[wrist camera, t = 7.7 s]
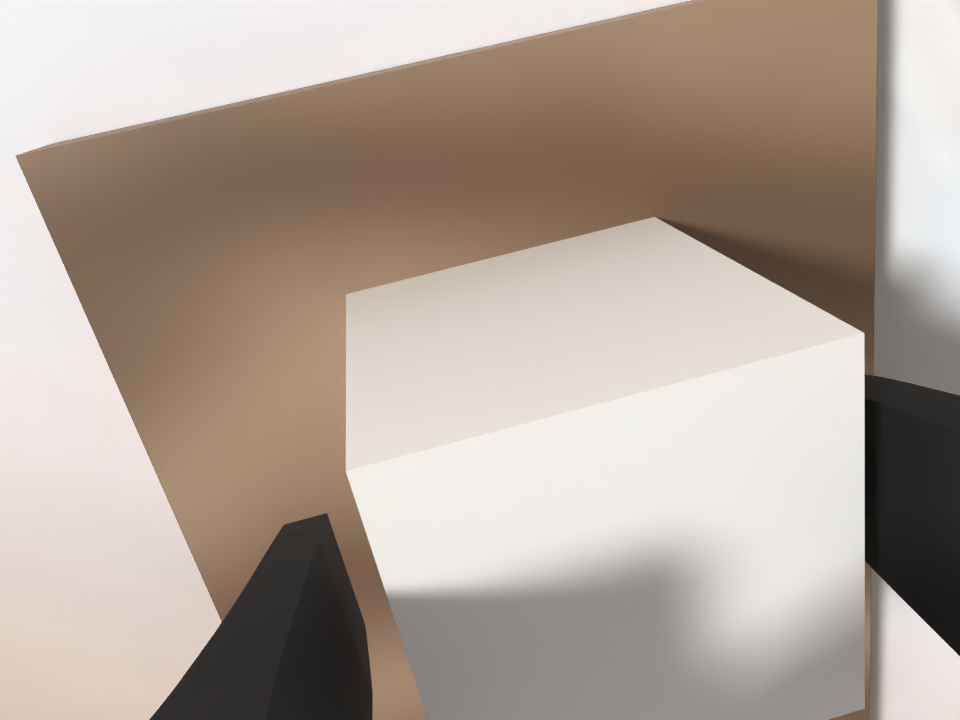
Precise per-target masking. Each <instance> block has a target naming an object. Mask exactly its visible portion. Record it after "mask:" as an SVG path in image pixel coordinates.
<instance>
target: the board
mask: <svg viewBox="0 0 960 720" xmlns="http://www.w3.org/2000/svg"><path fill="white" fill-rule="evenodd" d="M877 14H878V0H691V1H687V2H683V3H678V4H674V5H669V6H665V7H660V8H656V9H651V10H647V11H642V12H638V13H633V14H629V15H625V16H620V17H616V18H611V19H607V20H602V21H598V22H593V23H589V24H584V25H580V26H576V27H571V28H567V29H562V30H558V31H553V32H549V33H544V34H540V35H535V36H531V37H526V38H522V39H518V40H513V41H509V42H504V43H500V44H495V45H491V46H486V47H482V48H477V49H473V50H469V51H464V52H460V53H455V54H451V55H446V56H442V57H437V58H433V59H428V60H424V61H419V62H415V63H411V64H406V65H402V66H397V67H393V68H388V69H384V70H379V71H375V72H370V73H366V74H362V75H357V76H353V77H348V78H344V79H339V80H335V81H330V82H326V83H321V84H317V85H312V86H308V87H304V88H299V89H295V90H290V91H286V92H281V93H277V94H272V95H268V96H263V97H259V98H255V99H250V100H246V101H241V102H237V103H232V104H228V105H223V106H219V107H214V108H210V109H205V110H201V111H197V112H192V113H188V114H183V115H179V116H174V117H170V118H165V119H161V120H156V121H152V122H147V123H143V124H139V125H134V126H130V127H125V128H121V129H116V130H112V131H107V132H103V133H98V134H94V135H90V136H85V137H81V138H76V139H72V140H67V141H63V142H58V143H54V144H50V145H47V146H44V147H41V148H38V149H35V150H32V151H29V152H26V153H23V154H20V155H17V156H16V158H17V160H18V162H19V165H20V167H21V169H22V171H23V174H24V176H25V178H26V180H27V183H28V185H29V187H30V189H31V192H32V194H33V196H34V198H35V201H36V203H37V205H38V207H39V210H40V212H41V214H42V216H43V219H44V221H45V223H46V226H47V228H48V230H49V232H50V235H51V237H52V239H53V241H54V244H55V246H56V248H57V250H58V253H59V255H60V257H61V259H62V262H63V264H64V266H65V268H66V271H67V273H68V275H69V277H70V280H71V282H72V284H73V287H74V289H75V291H76V293H77V296H78V298H79V300H80V302H81V305H82V307H83V309H84V311H85V314H86V316H87V318H88V320H89V323H90V325H91V327H92V329H93V332H94V334H95V336H96V338H97V341H98V343H99V345H100V347H101V350H102V352H103V354H104V357H105V359H106V361H107V363H108V366H109V368H110V370H111V372H112V375H113V377H114V379H115V381H116V384H117V386H118V388H119V390H120V393H121V395H122V397H123V399H124V402H125V404H126V406H127V408H128V411H129V413H130V415H131V418H132V420H133V422H134V424H135V427H136V429H137V431H138V433H139V436H140V438H141V440H142V442H143V445H144V447H145V449H146V451H147V454H148V456H149V458H150V460H151V463H152V465H153V467H154V469H155V472H156V474H157V476H158V479H159V481H160V483H161V485H162V488H163V490H164V492H165V494H166V497H167V499H168V501H169V503H170V506H171V508H172V510H173V512H174V515H175V517H176V519H177V521H178V524H179V526H180V528H181V530H182V533H183V535H184V537H185V539H186V542H187V544H188V546H189V549H190V551H191V553H192V555H193V558H194V560H195V562H196V564H197V567H198V569H199V571H200V573H201V576H202V578H203V580H204V582H205V585H206V587H207V589H208V591H209V594H210V596H211V598H212V600H213V603H214V605H215V607H216V610H217V612H218V614H219V616H220V619H221V621H223V620H224V618H225V617H226V615H227V614H228V612H229V611H230V609H231V608H232V606H233V604H234V603H235V601H236V600H237V598H238V597H239V595H240V594H241V592H242V591H243V589H244V587H245V586H246V584H247V582H248V581H249V579H250V578H251V576H252V574H253V573H254V571H255V570H256V568H257V566H258V565H259V563H260V561H261V560H262V558H263V556H264V555H265V553H266V552H267V550H268V548H269V547H270V545H271V544H272V542H273V541H274V539H275V537H276V536H277V534H278V533H279V531H280V530H281V528H282V527H283V525H284V524H288V523H292V522H295V521H299V520H303V519H307V518H311V517H314V516H318V515H322V514H326V513H327V514H328V517H329V520H330V523H331V526H332V529H333V532H334V535H335V538H336V541H337V544H338V547H339V550H340V552H341V555H342V558H343V561H344V564H345V567H346V570H347V573H348V576H349V579H350V582H351V585H352V588H353V590H354V593H355V596H356V599H357V602H358V605H359V608H360V611H361V614H362V617H363V620H364V623H365V626H366V634H367V643H368V652H369V660H370V670H371V681H372V691H373V718H372V720H428V719H427V716H426V713H425V710H424V707H423V704H422V701H421V698H420V694H419V691H418V688H417V685H416V682H415V679H414V676H413V673H412V670H411V667H410V664H409V661H408V658H407V655H406V652H405V649H404V646H403V643H402V640H401V637H400V634H399V631H398V628H397V625H396V622H395V619H394V616H393V613H392V610H391V607H390V604H389V601H388V598H387V595H386V592H385V589H384V586H383V583H382V580H381V577H380V574H379V571H378V568H377V565H376V561H375V558H374V555H373V552H372V549H371V546H370V543H369V540H368V537H367V534H366V531H365V528H364V525H363V522H362V519H361V516H360V513H359V510H358V507H357V504H356V501H355V498H354V495H353V492H352V489H351V486H350V483H349V480H348V477H347V474H346V294H349V293H353V292H357V291H361V290H365V289H369V288H373V287H377V286H381V285H385V284H389V283H393V282H397V281H401V280H405V279H409V278H413V277H417V276H421V275H425V274H429V273H433V272H437V271H441V270H445V269H449V268H453V267H457V266H461V265H465V264H469V263H473V262H477V261H481V260H485V259H489V258H493V257H497V256H501V255H505V254H509V253H513V252H517V251H521V250H525V249H529V248H533V247H536V246H540V245H544V244H548V243H552V242H556V241H560V240H564V239H568V238H572V237H576V236H580V235H584V234H588V233H592V232H596V231H600V230H604V229H608V228H612V227H616V226H620V225H624V224H628V223H632V222H636V221H640V220H644V219H648V218H652V217H656V218H658V219H659V220H661V221H663V222H665V223H667V224H668V225H670V226H672V227H674V228H676V229H677V230H679V231H681V232H683V233H685V234H686V235H688V236H690V237H692V238H694V239H695V240H697V241H699V242H701V243H703V244H704V245H706V246H708V247H710V248H712V249H714V250H715V251H717V252H719V253H721V254H723V255H724V256H726V257H728V258H730V259H732V260H733V261H735V262H737V263H739V264H741V265H742V266H744V267H746V268H748V269H750V270H751V271H753V272H755V273H757V274H759V275H760V276H762V277H764V278H766V279H768V280H769V281H771V282H773V283H775V284H777V285H778V286H780V287H782V288H784V289H786V290H788V291H789V292H791V293H793V294H795V295H797V296H798V297H800V298H802V299H804V300H806V301H807V302H809V303H811V304H813V305H815V306H816V307H818V308H820V309H822V310H824V311H825V312H827V313H829V314H831V315H833V316H834V317H836V318H838V319H840V320H842V321H843V322H845V323H847V324H849V325H851V326H853V327H854V328H856V329H858V330H860V331H862V332H863V333H864V365H865V374H866V375H872V376H873V361H874V274H875V188H876V101H877ZM870 622H871V566H870V565H869V564H868V563H867V562H866V561H865V709H862V710H858V711H855V712H852V713H849V714H845V715H842V716H839V717H835V718H832V719H829V720H869V709H870Z"/></svg>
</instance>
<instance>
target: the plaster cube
mask: <svg viewBox="0 0 960 720" xmlns="http://www.w3.org/2000/svg"><path fill="white" fill-rule="evenodd" d="M346 474H347V477H348V480H349V483H350V486H351V489H352V492H353V495H354V498H355V501H356V504H357V507H358V510H359V513H360V516H361V519H362V522H363V525H364V528H365V531H366V534H367V537H368V540H369V543H370V546H371V549H372V552H373V555H374V558H375V561H376V565H377V568H378V571H379V574H380V577H381V580H382V583H383V586H384V589H385V592H386V595H387V598H388V601H389V604H390V607H391V610H392V613H393V616H394V619H395V622H396V625H397V628H398V631H399V634H400V637H401V640H402V643H403V646H404V649H405V652H406V655H407V658H408V661H409V664H410V667H411V670H412V673H413V676H414V679H415V682H416V685H417V688H418V691H419V694H420V698H421V701H422V704H423V707H424V710H425V713H426V716H427V719H428V720H829V719H832V718H835V717H839V716H842V715H845V714H849V713H852V712H855V711H858V710H862V709H865V365H864V333H863V332H862V331H860V330H858V329H856V328H854V327H853V326H851V325H849V324H847V323H845V322H843V321H842V320H840V319H838V318H836V317H834V316H833V315H831V314H829V313H827V312H825V311H824V310H822V309H820V308H818V307H816V306H815V305H813V304H811V303H809V302H807V301H806V300H804V299H802V298H800V297H798V296H797V295H795V294H793V293H791V292H789V291H788V290H786V289H784V288H782V287H780V286H778V285H777V284H775V283H773V282H771V281H769V280H768V279H766V278H764V277H762V276H760V275H759V274H757V273H755V272H753V271H751V270H750V269H748V268H746V267H744V266H742V265H741V264H739V263H737V262H735V261H733V260H732V259H730V258H728V257H726V256H724V255H723V254H721V253H719V252H717V251H715V250H714V249H712V248H710V247H708V246H706V245H704V244H703V243H701V242H699V241H697V240H695V239H694V238H692V237H690V236H688V235H686V234H685V233H683V232H681V231H679V230H677V229H676V228H674V227H672V226H670V225H668V224H667V223H665V222H663V221H661V220H659V219H658V218H656V217H652V218H648V219H644V220H640V221H636V222H632V223H628V224H624V225H620V226H616V227H612V228H608V229H604V230H600V231H596V232H592V233H588V234H584V235H580V236H576V237H572V238H568V239H564V240H560V241H556V242H552V243H548V244H544V245H540V246H536V247H533V248H529V249H525V250H521V251H517V252H513V253H509V254H505V255H501V256H497V257H493V258H489V259H485V260H481V261H477V262H473V263H469V264H465V265H461V266H457V267H453V268H449V269H445V270H441V271H437V272H433V273H429V274H425V275H421V276H417V277H413V278H409V279H405V280H401V281H397V282H393V283H389V284H385V285H381V286H377V287H373V288H369V289H365V290H361V291H357V292H353V293H349V294H346Z"/></svg>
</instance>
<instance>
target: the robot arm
mask: <svg viewBox="0 0 960 720" xmlns="http://www.w3.org/2000/svg"><path fill="white" fill-rule="evenodd" d="M865 561H866V562H867V563H868V564H869V565H870V566H871V567H872V569H873V570H874V571H875V572H876V573H877V574H878V575H879V576H880V577H881V578H882V579H883V580H884V581H885V582H886V583H887V584H888V585H889V586H890V587H891V588H892V589H893V590H894V591H895V592H896V593H897V594H898V595H899V596H900V597H901V598H902V599H903V600H904V601H905V602H906V603H907V604H908V605H909V606H910V607H911V608H912V609H913V610H914V611H915V612H916V613H917V614H918V615H919V616H920V617H921V618H922V619H923V620H924V621H925V622H926V623H927V624H928V625H929V626H930V627H931V628H932V629H933V630H934V631H935V632H936V633H937V634H938V635H939V636H940V637H941V638H942V639H943V640H944V641H945V642H946V643H947V644H948V645H949V646H950V647H951V648H952V649H953V650H954V651H955V652H956V653H957V654H958V655H959V656H960V396H959V395H955V394H951V393H947V392H943V391H939V390H935V389H931V388H927V387H922V386H918V385H914V384H910V383H906V382H901V381H897V380H892V379H888V378H883V377H878V376H872V375H866V374H865ZM372 718H373V691H372V681H371V670H370V660H369V652H368V643H367V634H366V626H365V623H364V620H363V617H362V614H361V611H360V608H359V605H358V602H357V599H356V596H355V593H354V590H353V588H352V585H351V582H350V579H349V576H348V573H347V570H346V567H345V564H344V561H343V558H342V555H341V552H340V550H339V547H338V544H337V541H336V538H335V535H334V532H333V529H332V526H331V523H330V520H329V517H328V514H327V513H326V514H322V515H318V516H314V517H311V518H307V519H303V520H299V521H295V522H292V523H288V524H284V525H283V527H282V528H281V530H280V531H279V533H278V534H277V536H276V537H275V539H274V541H273V542H272V544H271V545H270V547H269V548H268V550H267V552H266V553H265V555H264V556H263V558H262V560H261V561H260V563H259V565H258V566H257V568H256V570H255V571H254V573H253V574H252V576H251V578H250V579H249V581H248V582H247V584H246V586H245V587H244V589H243V591H242V592H241V594H240V595H239V597H238V598H237V600H236V601H235V603H234V604H233V606H232V608H231V609H230V611H229V612H228V614H227V615H226V617H225V618H224V620H223V621H222V623H221V624H220V626H219V627H218V629H217V630H216V632H215V634H214V635H213V636H212V638H211V639H210V640H209V642H208V643H207V645H206V646H205V647H204V649H203V650H202V651H201V653H200V654H199V656H198V657H197V658H196V660H195V661H194V663H193V664H192V665H191V667H190V668H189V669H188V671H187V672H186V674H185V675H184V676H183V678H182V679H181V680H180V682H179V683H178V685H177V686H176V687H175V689H174V690H173V691H172V692H171V694H170V695H169V696H168V698H167V699H166V700H165V701H164V703H163V704H162V705H161V706H160V708H159V709H158V710H157V711H156V712H155V714H154V715H153V716H152V717H151V719H150V720H372Z"/></svg>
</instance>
